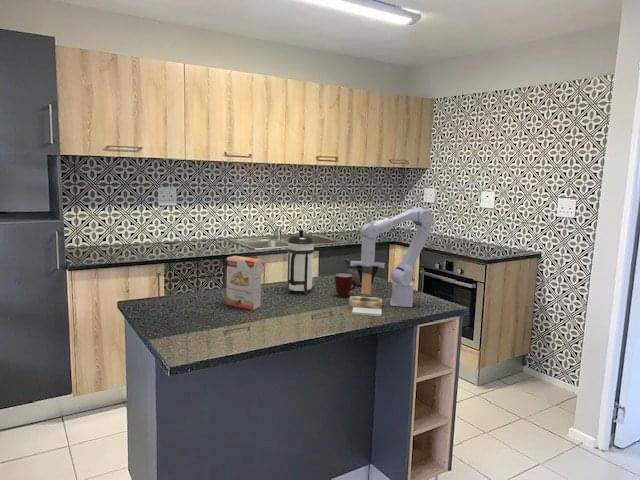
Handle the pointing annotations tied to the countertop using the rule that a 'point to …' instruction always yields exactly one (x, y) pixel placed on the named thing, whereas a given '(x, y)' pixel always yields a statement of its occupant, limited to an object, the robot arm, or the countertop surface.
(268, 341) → the countertop surface
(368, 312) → the mat
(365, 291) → the plug
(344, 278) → the mug
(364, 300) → the beige holed block
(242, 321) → the countertop surface
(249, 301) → the cracker box
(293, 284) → the coffee press
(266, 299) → the countertop surface
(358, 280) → the perforated stone tool
